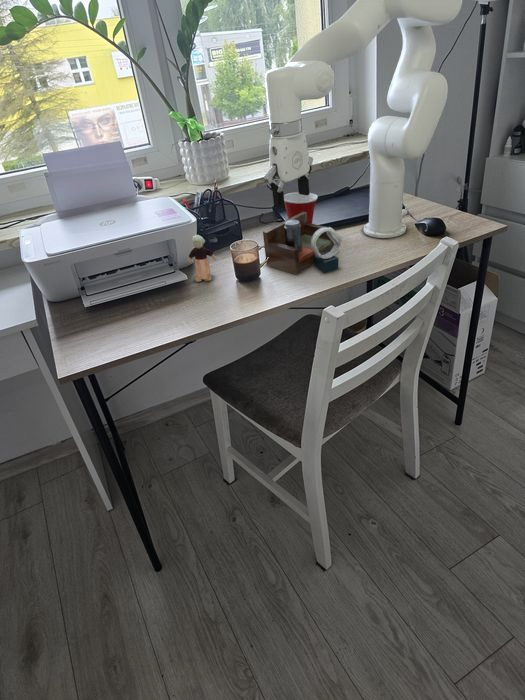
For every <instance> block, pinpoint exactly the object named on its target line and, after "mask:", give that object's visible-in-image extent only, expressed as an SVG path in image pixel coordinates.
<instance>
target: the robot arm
mask: <svg viewBox="0 0 525 700" xmlns="http://www.w3.org/2000/svg"><path fill="white" fill-rule="evenodd" d="M462 5H463V0H355V2H353V4H351V6H350V7H348V9H347V10H346V11H345V12H344V13H343V14H342V16H340V18H338V19H337V20H335V21H334V22H332V23H331V24H329V25H328V26H327V27H325V28H324V29H323V30H321V31H319V32H318V33H317V34H316V35H314V36H313V37H312V38H310V39H309V40H307V41H306V42H305V43H304V44H302V46H301V47H300V48H299V49H298V50H296V52H295V53H294V54H293V55H292V56H291V58H289V60H288V61H287V62H286V63H285V65H284V66H280V67H275V68H271V69H269V70H267V71H266V72H265V74H264V85H265V95H266V104H267V113H268V123H269V129H268V133H269V135H270V138H269V151H268V152H269V154H268V155H269V169H268V171H267V172H266V173H265V175H264V176H263V181H264V183H265V184H266V187H267V188H269V190H270V192H272V199H273V200H272V201H273V206H274V207H276V208H280V209H284V208H286V207H285V202H284V195H285V193H284V190H283V187H284V185H285V183H291V182H293V181H296V180H297V190H298V191H297V192H299V194H301V195H307V196H308V195H309V193H310V181H309V180H310V178H311V172H312V170H313V169H312V166H313V162H314V158H313V157H312V156H310V155H309V149H308V148H309V147H308V142H307V137H306V134H305V131H304V130H303V123H302V122H303V121H302V106H301V102H302V101H309V100H310V101H311V100H312V101H313V100H319V99H322V98H324V97H326V96H327V95H329V93H330V92H331V91H332V90H333V88H334V86H335V82H336V77H335V71H334V70H333V68H332V67H331V65H332V64H335V63H337V62H339V61H343V60H346V59H348V58H349V59H350V58H351V57H353V56H356V55H357V54H359V53H361V52H363V51H364V50H365V49H366V48H367V47H368V46H369V44H370V43H372V42H373V40H374V39H375V38H376V37H377V36H378V35H379V34H380V32H382V30H383V29H384V28H385V27H386V26H387V25H388V24H389V23H390V22H391V21H393V20H397V23H398V26H399V28H400V32H401V35H402V36H401V37H402V38H401V39H402V47H401V52H400V54H399V55H400V56H399V58H398V61H397V65H396V67H395V70H394V73H393V76H392V79H391V82H390V84H389V88H388V91H387V96H386V103H387V106H388V108H389V109H390V110H393V111H395V112H398V113H403V114H410V115H409V117H404V116H402V117H401V116H395V115H384V116H380V117H378V118H376V119H375V120H373V122H372V123H371V125H370V126H369V129H368V132H367V148H368V153H369V166H370V167H369V170H370V171H369V173H370V174H369V200H368V202H369V204H368V205H369V207H368V222H367V223H366V224H364V226H363V229H362V230H363V233H364V234H365V235H367V236H369V237H371V238H376V239H377V238H378V239H392V238H396V237H399V236H401V235H404V234H405V233H406V231H407V225H406V224H405V222H403V221H402V219H403V218H404V217H405V216H407V215H408V210H407V209H405V208H403V204H404V190H405V176H406V168H405V160H410V161H412V160H417V159H419V158H420V157H422V156H423V155H424V154H425V152H426V151H427V150H428V147H429V146H430V144H431V142H432V139H433V136H434V135H435V131H436V129H437V126H438V124H439V121H440V118H441V117H442V114H443V111H444V108H445V106H446V103H447V99H448V93H449V87H448V81H447V79H446V77H445V76H444V75H443V74H441V73H440V72H438V71H431V70H432V67H433V63H434V61H435V57H436V54H437V53H436V52H437V44H436V43H437V42H436V38H435V35H434V31H433V28H432V26H433V27H435V26H444V25H447V24H450V23H451V22H452V21H453V20H455V19H456V17H458V15H459V14H460V11H461V9H462ZM282 190H283V191H282Z"/></svg>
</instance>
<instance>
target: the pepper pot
mask: <svg viewBox="0 0 525 700" xmlns="http://www.w3.org/2000/svg"><path fill="white" fill-rule="evenodd" d="M284 228H285V241H286V246H290V247H294V248H298V252H299V253H300V252H301V251H302V235H301V225H300V222H299V221H298V220H288V221H286V222H285V226H284Z"/></svg>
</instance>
